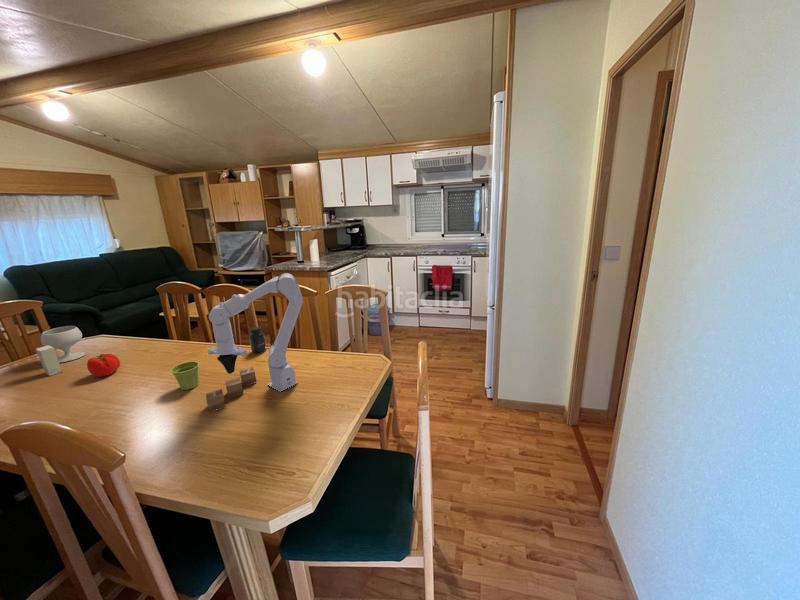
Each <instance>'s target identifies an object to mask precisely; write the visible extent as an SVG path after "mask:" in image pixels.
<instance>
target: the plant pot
mask: <svg viewBox="0 0 800 600" xmlns="http://www.w3.org/2000/svg"><path fill="white" fill-rule="evenodd" d="M199 366H200V362H198V361H197V360H196V361H195V360H194V361H192V360H191V361H185V362H181V363H180V364H176V365H175V366H173V367H172V368H171V369H170V373H172V375H173V376H174V377H175V379H176V381H177V384H178V386H179V389H180V390H182V391H188V390H189V389H194V388H196V387H198V386H199V384H200V383H199Z"/></svg>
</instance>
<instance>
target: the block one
mask: <svg viewBox="0 0 800 600" xmlns="http://www.w3.org/2000/svg"><path fill="white" fill-rule="evenodd" d="M205 398H206V404H207V408H208V412H209V411H212V412H214V411H213V410H215V411H217V410H216V409H219V410H221V409H220V408H222V409H224V408H223V407H225V408H226V403H225V402H226V401H225V398H224V393H223V388H220V389H217V390H213V391H209V392H206V393H205Z"/></svg>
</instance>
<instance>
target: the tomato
mask: <svg viewBox="0 0 800 600" xmlns="http://www.w3.org/2000/svg"><path fill="white" fill-rule="evenodd" d="M86 364H87V365H86V367H87V370H88V371H89V373H90V374H91V375H93V376H96V377H105V376H110V375H112V374H113V373H114V372H116V371H117V370H118V369H119V368H120V367H121V366H120V365H121V360H120V358H119V357H118V356H117V355H115V354H113V353H101V354H99V355H95V357H91V358H89V359H88V361H87V363H86Z"/></svg>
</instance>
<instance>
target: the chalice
mask: <svg viewBox="0 0 800 600" xmlns="http://www.w3.org/2000/svg"><path fill="white" fill-rule="evenodd" d="M82 337H83V333H82V331H81V330H80V329H79V328H78V327H77V326H75V325H65V326H59V327H55V328H51V329H47V330H46V331H43V332H42V333H41V335H40V343H41V344H42V347H44V346H48V345H50V346H52V347H53V348H54V350H60V351H61V350H62V351H63V353H64V354H63V355H61V356H57V358H58V361H59V363H60V364H61V363H66V362H71V361H75V360H77V359H80V358H82V357H83V356H85V355H86V352H84V351H77V352H75V351H74V352H71V351H70V350H71V348H72V347H73V346H74V345H76V344H77V343H79V342H80V341H81V339H82Z"/></svg>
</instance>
